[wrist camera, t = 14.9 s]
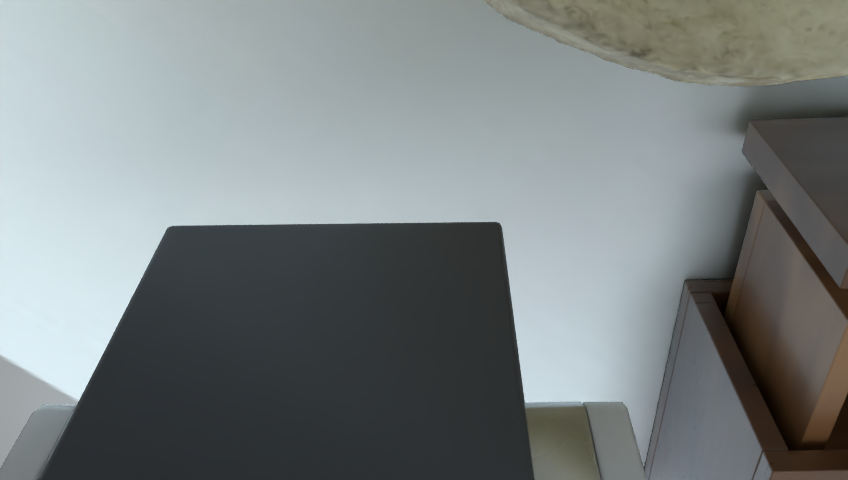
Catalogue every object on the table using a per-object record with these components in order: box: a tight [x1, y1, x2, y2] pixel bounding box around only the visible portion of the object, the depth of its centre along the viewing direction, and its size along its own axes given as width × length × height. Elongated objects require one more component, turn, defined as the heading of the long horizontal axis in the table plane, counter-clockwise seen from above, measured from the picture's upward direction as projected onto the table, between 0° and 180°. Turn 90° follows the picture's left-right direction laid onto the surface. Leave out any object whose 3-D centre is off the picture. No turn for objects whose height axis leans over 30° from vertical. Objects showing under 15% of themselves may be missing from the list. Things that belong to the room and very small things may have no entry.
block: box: [39, 222, 535, 480], centre depth 9 cm, size 4×4×4 cm
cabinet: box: [644, 279, 848, 480], centre depth 29 cm, size 12×11×9 cm
